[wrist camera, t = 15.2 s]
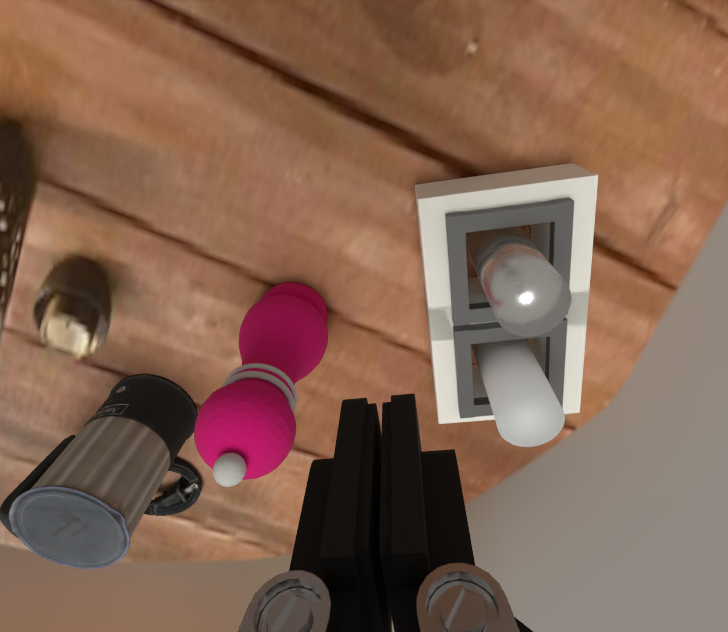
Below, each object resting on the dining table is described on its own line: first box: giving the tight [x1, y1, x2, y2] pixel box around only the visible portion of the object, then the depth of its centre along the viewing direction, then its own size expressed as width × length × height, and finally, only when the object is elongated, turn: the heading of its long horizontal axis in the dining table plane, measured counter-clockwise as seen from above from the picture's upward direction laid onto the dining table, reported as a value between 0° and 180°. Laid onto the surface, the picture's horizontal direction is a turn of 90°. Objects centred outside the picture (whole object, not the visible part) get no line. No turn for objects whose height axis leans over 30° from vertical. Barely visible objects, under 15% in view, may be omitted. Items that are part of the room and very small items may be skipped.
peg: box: [466, 226, 571, 337], centre depth 33 cm, size 4×4×12 cm
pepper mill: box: [194, 282, 328, 487], centre depth 33 cm, size 7×7×20 cm
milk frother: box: [0, 375, 201, 569], centre depth 44 cm, size 14×16×15 cm
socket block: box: [415, 163, 598, 447], centre depth 35 cm, size 20×12×12 cm, turn 8°
